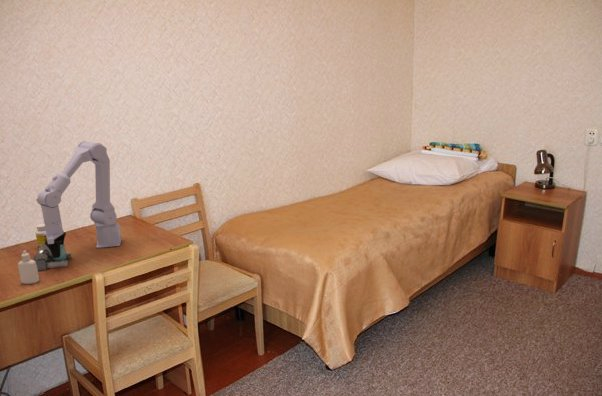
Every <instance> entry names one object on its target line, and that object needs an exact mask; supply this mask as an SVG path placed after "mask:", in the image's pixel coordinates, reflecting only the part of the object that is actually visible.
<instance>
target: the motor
mask: <svg viewBox="0 0 602 396" xmlns="http://www.w3.org/2000/svg"><path fill="white" fill-rule="evenodd" d="M66 256H67V258H66V259H65V260H62V261H53V257H52V253H51V251H50V249H49V248H48V247H47V246H46V245H45V244H43V245H42V246H41V247H40V249H39V248H38V250H37V251H36V253H35V254H34V256H33V259H32V260H34V261H35V262H36V265H37V270H38V272H40V271H41V272H42V271H47V270H48V269H52V268H61V267H68V266H69V262H68V260H69V259H72V258H73V255H72V252H66Z"/></svg>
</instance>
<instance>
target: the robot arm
mask: <svg viewBox="0 0 602 396" xmlns="http://www.w3.org/2000/svg"><path fill="white" fill-rule="evenodd" d="M87 162H91V163H92V164H94V166H95V167H94V168H95V170H94V171H95V172H94V173H95V202H93V204H92V206H91V208H92V209H91V212H90V214H89V215H90V216H89V217H90V220H91V221H92V222H93V223H94V226H95V233H96V239H97V242H96V243H97V244H96V246H95V248H96V249H100V248H110V247H120V246H121V244H122V240H123V239H122V232H121V226H120V223H119V222H116V221H117V218H118V217H117V213H116V211H115V208H116V207H115V206H114V205H113V204H112V203H111V183H110V182H111V171H110V170H111V165H110V163H111V161H110V157H109V155H108V153H107V147H106V146H104V145H103V144H102V143H101V142H90V141H85V140H84V141H81V142H79V143H78V144H77V146H76V148H74V151H73V155H72V156H71V158H70V159H69V161H68V162H67V164H66V165H65V167H64V168H63V170H62V172H61V173H57V174H55V175H53V176H52V180H51V181H50V182H49V184H48V185H47V186H45V187H44V189H43V190H41V191H40V192H39V193H38V195H37V198H36V202H37V204H39V206H40V208H41V213H42V218H43V222H44V223H43V224H45V230H46V232H44V233H43V236H46V237H47V241H45V245H46V246H47V247H48V248H49V249H50V251H51V253H52V255H53V257H54V258H58V257H60V246H61V244H62V245H65V239H66V235H67V232H64V228H63V223H62V218H61V213H60V207H59V204H60V203H61V201H62V196H63V194H64V192H65V191H66V189H67V188H68V187H69V186H70V184H71V178H72V177H73V175H74V174H75V173H76V172H77V170H79V168H80V166H81V165H82V164H83V163H87Z"/></svg>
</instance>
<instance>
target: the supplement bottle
mask: <svg viewBox="0 0 602 396" xmlns="http://www.w3.org/2000/svg"><path fill="white" fill-rule="evenodd" d="M44 232H46V230H45V224H44V223H39V224H37V225H36V230H35V237H36V243H37V244H36V245H37V248H38V250H39V249H40V247H41V246H42V245H43V244H45V241H47V237H46V236H43V233H44Z"/></svg>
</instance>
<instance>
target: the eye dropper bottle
mask: <svg viewBox="0 0 602 396" xmlns="http://www.w3.org/2000/svg"><path fill="white" fill-rule="evenodd" d="M20 256H21V260H20V261H19V262H18V263H17V267H18V273H19V278H20V283H21V284H26V285H27V284H28V285H32V284H36V283H38V282H39V281H40V276H39V271H38V270H37V265H36V262H35V261H34V260H33V259H31V256H30V253H29V252H27V250H22V254H21V255H20Z"/></svg>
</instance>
